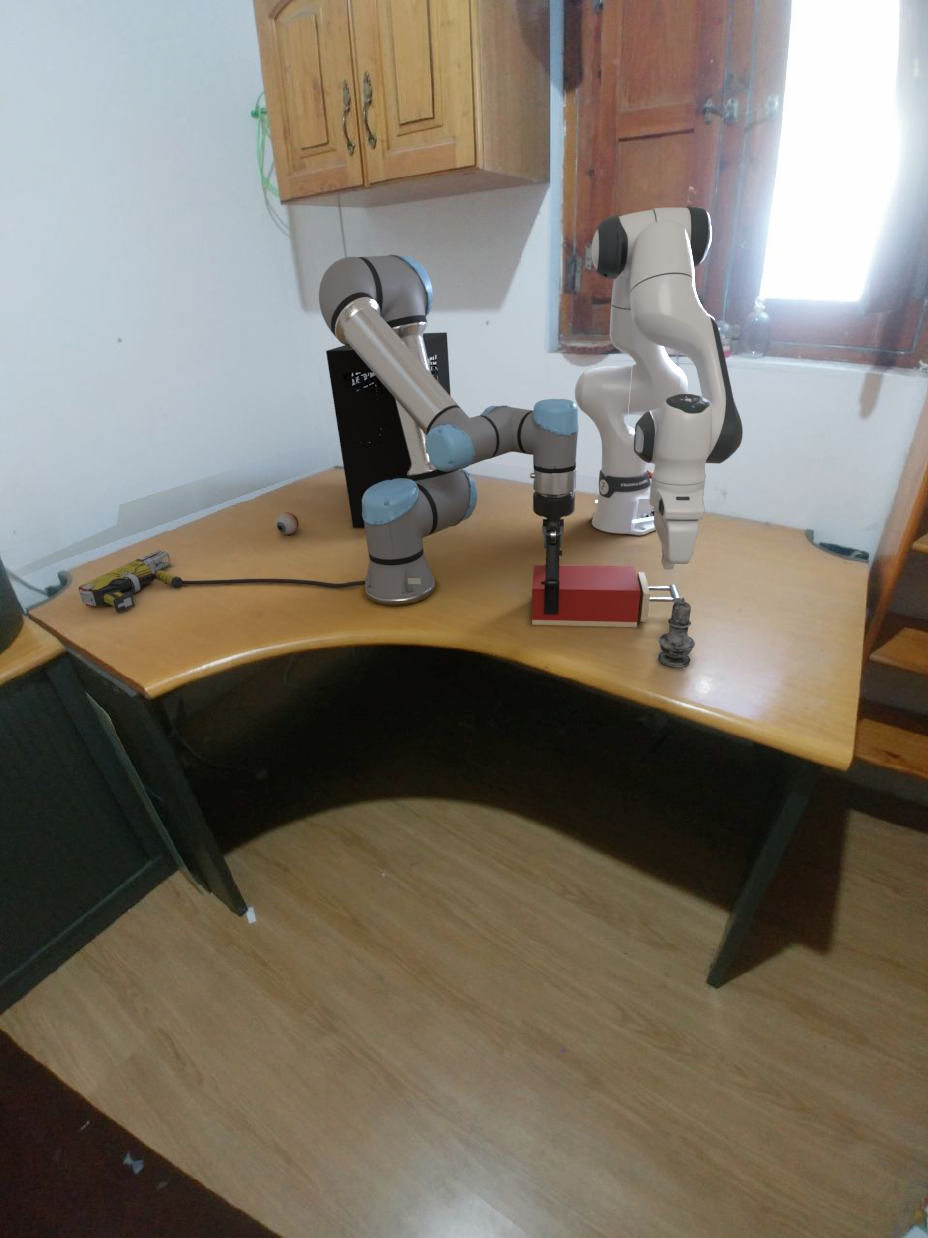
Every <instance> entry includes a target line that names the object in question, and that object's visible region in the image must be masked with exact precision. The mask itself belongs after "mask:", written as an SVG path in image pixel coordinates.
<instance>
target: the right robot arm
mask: <svg viewBox="0 0 928 1238" xmlns="http://www.w3.org/2000/svg"><path fill="white" fill-rule="evenodd" d="M712 235H713V229H712V220H711V216H710V214H709V212H708V211H707V209H706V208H704V207H702V206H701V207H700V206H697V205H696V206H695V205H687V206H685V207H675V206H674V207H671V206H669V207H654V208H651V209H648V210H641V211H636V212H631V213H627V214H623V215H620V216H619V215H618V214H615V215H612V216H609V217H606V218H604V219H602V220H601V221H600V222H599V223H598V225H597V226H596V228H595V233H594V235H593V238H592V242H591V247H590V249H591V250H590V254H591V260H592V263H593V266H594V270H595V273H597V274H598V275H599V276H600V277H601V278H603V279H609V280H613V281H612V282H613V283H612V290H611V291H612V292H611V302H610V318H609V319H610V320H609V339H610V342H611V344H612V345H613V347H614V348H615V349H616V350H618V351H620V352H621V353H624V354H625V355H628V356H629V357H631V358H632V360H633V361H634V362H635V364H633V365H605V366H604V365H603V366H599V367H598V366H597V367H594V368H590V369H586V370H584V371H583V372H582V373H581V374H580V376H579V377H578V379H577V380H576V384H575V386H574V398H575V402H576V405H577V407H578V408H579V410H580V411H581V412H583V413H584V414H585V415H586V416H588V418H589V419H590V420H591V421H592V422H593V424H594V425H595V427H596V429H597V431H598V434H599V436H600V437H599V438H600V443H601V468H600V470H599V474H598V492H599V493H598V498H597V499H595V500H594V503H595V504H596V507H595V511H594V514H593V517H592V520H591V525H592V526H593V527H594V528H595V529H597V530H599V531H601V532H605V533H611V534H623V535H625V534H626V535H632V536H633V535H634V536H645V535H646V534H650V533H652V532H654V531H656V534H657V536H658V540H659V542H660V545H661V559H660V562H661V564H662V567H663V569H664V570H669V571H670V570H673V569H674V567H675V565H687V564H689V563H690V562H691V560H692V558H693V556H694V551H695V547H696V542H697V538H698V533H699V528H700V527H699V525H700V520H701V521H702V520H703V519H704V517H705V508H706V507H705V502H704V494H705V486H706V478H707V477H706V476H707V475H706V474H707V473H706V464H722V463H724V462H725V461H726V460H728V459H729V458H731V457H732V456H733V455H734V454H735V452H736V451H737V450H738V449H739V448H740V446H741V444H742V441H743V433H744V432H743V430H744V429H743V423H742V419H741V418H742V417H741V416H740V412H739V410H738V407H737V405H736V402H735V397H734V393H733V389H732V384H731V380H730V375H729V369H728V365H727V360H726V355H725V350H724V345H723V341H722V336H721V332H720V329H719V326H718V322H717V320H716V319H715V317H714V316H713V315H711V314H709V313H708V312H707V311H706V310H705V309H704V307H703V305H702V304H701V302H700V300H699V297H698V294H697V290H696V282H695V281H696V280H695V268H697V267H698V266H700V264H702V263H703V261H704V260H705V259H706V257H707V255H708V252H709V249H710V246H711V243H712V237H713V236H712ZM666 348H668V349H670V350H673V351H675V352H678V353H680V354H682V355H683V356H685V357H686V358H688V359H689V360H690V361H691V362H692V363H693V365H694V367H695V369H696V372H697V378H698V381H699V388H700V392H701V395H698V394H693V393H688V392H689V382H688V377H687V375H686V374H685V372H684V370H682V369H681V368H680V367H679V366H678V365H676V364H675V362H674V361H673V360H672V359H671V358H670V357H669V354H668V352H667V351H666ZM626 416H641V417H640V418H639V419H638V420H637V422H636V423H635V427H632V426H630V425H629V424H627V422H626V420H625V417H626ZM648 464H654V469H653V470H651V471H649V470H648V469H647V466H648Z"/></svg>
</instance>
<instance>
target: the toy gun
mask: <svg viewBox="0 0 928 1238" xmlns="http://www.w3.org/2000/svg"><path fill="white" fill-rule="evenodd" d="M166 558H167V559H168V562H167V561H163V559H166ZM171 564H172V563H171V558H170V554H169V552H168V551H166V550H163V551H162V550H161V549H159V550H156V551H155V552H153V553H150V554H148V555H145V556H143V557H142V558H136V559H135V560H133V561H130V562H129V563H126V564H124V565H122V566H120V567H118V568H115V569H113V570H111V571H109V572H107V573H104V574H102V575H101V576H97V577H96V578H93V579H91V580H89V581H87V582H85V583H83V584H81V585H79V586H78V592H79V595H80V599H81V602H82V603H83V604H84V605H85V607H89V608H93V607H105V606H108V605H111V606H112V607H114V610H115V613H116V614H119V613H122V612H124V611H127V610H129V609H131V608H134V607H136V606H135V605H136V604H135V601H134V596H133V595H134V594H136V593H138V592H139V591H141V587H142V586H145V585H147V584H150V583H154V581H155V580H157V581H160V582H162V583H164V584H165V583H167V584H166V585H168V586H172V588H175V589H177V588H180V587H181V586H182V585H183V584H182V581H183V579H182V578H181V577H180V576H175V575H174V574H170V573H168V572H167V571H164V568H166V567H169V566H171Z"/></svg>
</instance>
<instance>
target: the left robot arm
mask: <svg viewBox="0 0 928 1238" xmlns="http://www.w3.org/2000/svg"><path fill="white" fill-rule="evenodd" d="M433 301H434V292H433V285H432V282H431V279H430V277H429V275H428V272H427V270H426V269H425V268H424V267H423V265H422V264H421V263H420V262H419V261H417V260H416V259H414V258H413V257H410V256H407V255H400V254H399V255H398V254H389V255H388V254H387V255H371V256H347V257H342V258H340V259H337V260H336V261H335V262H333V263H332V264H330V265H329V267H328V268H327V269H326V270H325V272H324V274H323V276H322V277H321V281H320V283H319V289H318V304H319V310H320V312H321V316H322V318H323V320H324V322H325V324H326V327H327V328H328V330H329V331H330V332H331V334H332V335H333V336H334V337H335V338H336V339H337V340H338V342H339V343H341V344H342V345H343V346H344V345H348V346H351V347H352V348H353V349H354V350H355V352H356V353H357V354H358V355H359V356H360V358H361V359H362V360H363V361H364V362H365V363H366V365H367V366H368V367H369V368H370V369H371V371H372V372H373V374H374V375H376V376H377V378H378V379H379V380H380V381H381V382H382V384H383V385H384V386H385V387H386V388H387V389H388V391H389V392H390V393H391V394H392V395H393V396H394V398H395V401H396V405H397V409H398V413H399V417H400V421H401V425H402V429H403V433H404V436H405V440H406V444H407V448H408V452H409V456H410V460H411V467H410V468H409V470H408V472H407V477H408V479H405V478H397V479H393V480H386V481H382V482H379V483H377V484H375V485H373V486H371V487H370V488H369V489H368V490H367V491H366V492H365V493H364V495H363V498H362V517H363V520H364V525H365V528H364V530H365V532H364V533H365V539H366V545H367V551H368V560H369V562H368V567H367V571H366V572H367V573H366V577H365V580H358V581H349V582H342V583H340V582H339V583H338V582H337V583H336V582H333V583H332V582H325V581H318V580H307V579H295V578H294V579H293V578H236V579H235V578H234V579H208V580H182V585H190V586H191V585H224V584H226V585H227V584H247V583H248V584H252V583H253V584H254V583H257V584H259V583H266V584H267V583H271V584H272V583H277V584H279V583H281V584H299V585H312V586H320V587H327V588H348V587H353V586H354V587H355V586H364V590H365V596H366V598H367V599H368V600H369V601H371V602H372V603H375V604H378V605H381V606H387V607H401V606H407V605H408V606H409V605H412V604H416V603H419V602H422V601H425V600H426V599H427V598H429V597H430V596H432V595H433V593H434V592H435V589H436V582H435V576H434V574H433V572H432V570H431V568H430V567H431V566H430V565H429V563H428V561H427V559H426V556H425V554H424V553H425V552H424V542H423V539H424V538H426V537H428V536H431V535H433V534H437V533H439V532H441V531H443V530H445V529H448V528H451V527H456V526H457V525H459V524H460V523H462V522H464V521H466V520H468V519H469V518H471V516H472V515H473V513H474V511H475V509H476V506H477V502H478V489H477V486H476V482H475V480H474V478H473V476H470V473H469V472H468V471H467V470H466V468H468V467H469V466H472V465H475V464H477V463H480V462H483V461H485V460H490V459H493V458H496V457H500V456H503V455H506V454H509V453H518V454H524V455H530V456H531V455H532V464H533V466H532V468H533V472H530V474H529V478H530V479H533V480H532V481H533V487H532V488H533V490H534V492H533V493H532V511H533V513H534V514H535V515H537V516H539V517H541V518H542V527H541V529H542V534H543V548H544V549H545V565H546V578H545V581H541V585H545V589H544V614H558V612H559V584H560V580H559V566H560V556H563V550H562V549H561V548H562V547H563V536H564V535H563V534H564V533H565V519H564V518H566V517H568V516H571V515H572V514H573V513H574V512H575V505H576V493H575V490H576V488H577V448H578V436H579V429H580V428H579V427H580V426H579V417H578V416H579V411H578V410H579V409H578V408H579V407H578V405H577V402H576V403H575V402H574V401H573V400H571V399H566V398H560V399H559V398H547V399H542V400H539V401H537V402H535V404H534V406H533V409H525V408H520V407H519V408H518V407H513V406H508V405H490V406H488V407H486V408H485V409H484V410H483V412H481V413H480V414H479V415H476V416H472V417H470V416H469V415H468V414H467V413H466V411H464V410H463V408H461V406H460V405H459V404H458V403H457V402H456V401H455V400H454V398H452V396H450V395H449V394H448V393H447V392H446V391H445V389H444V388H443V387H442V386H441V385H440V384H439V382H438V381H437V380H436V379H435V378H434V377H433V376H432V374H431V370H432V369H431V370H430V366H429V365H430V364H429V359H428V357H427V353H426V348H425V344H424V340H423V333H425V331H426V330H427V327H428V325H429V324H428V319H427V317H428V315H430V312H431V310H432V307H433V305H432V303H433ZM164 584H166V585H168V584H167V583H164Z"/></svg>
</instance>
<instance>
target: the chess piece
mask: <svg viewBox="0 0 928 1238" xmlns="http://www.w3.org/2000/svg"><path fill="white" fill-rule="evenodd" d="M691 611H692V607H691V604H690V603H689V602H686V599H685V598H684V597H682V598H681V601H679V602H676V603H674V602H673V605H672V609H671V616H670V618H668V620H667V622H668V625H669V626H668V630H667V632H665V633H663V634H661V635H660V636H659V637H658V643H659V647H660V649H661V651H660V653H658V655H657V656H658V657H657V658H658V660H659V662H660V663H661V664H663V665H664V666H667V667H669V668H684V667H687V666H689V665H690V663H691V658H690V656H689V655H690V653H691V652H692V650H693V649H695V646H696V641H695V640H694V639H693V638H692V637H691V636H689V634H688V633H689V627H690V626H691V625H692V621H691V620H690V617H691Z"/></svg>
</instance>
